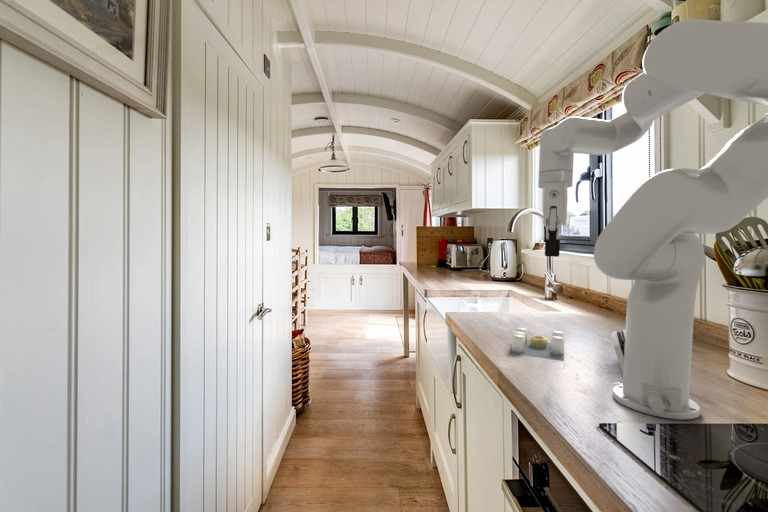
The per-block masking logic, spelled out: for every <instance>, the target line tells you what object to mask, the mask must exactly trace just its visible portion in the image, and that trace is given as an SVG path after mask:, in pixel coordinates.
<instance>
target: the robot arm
mask: <svg viewBox="0 0 768 512" xmlns="http://www.w3.org/2000/svg"><path fill="white" fill-rule="evenodd" d="M642 68H643V72H641V73H640V74H638V75H637V76H635V77H633V78H632V79H630V80H629V81H628V82H627V83H626V85H625V86H624V88H623V91H622V97H621V98H622V104H623V107H624V110H625V111H624V112H623V113H621V114H619V115H618V116H616V117H614V118H612V119H610V120H605V119H600V118H592V117H583V116H569V117H567V118H565V119H563V120H562V121H560V122H559V123H558V124H557V125H555V126H553V127H550V128H547V129H545V130H544V131H542V132H541V134H540V139H539V141H540V142H539V158H538V159H539V161H538V163H539V164H538V182H537V183H538V184H537V187H538V188H540V189H543V191H542V193H543V194H542V221H543V226H544V227H546V235H545V237H546V238H545V241H544V242H545V243H544V256H545V257H560V249H561V247H560V246H561V240H560V230H561V229H560V228H561V227H560V226H562V228H566V227H567V221H568V220H567V215H568V188H571V187H573V179H574V178H573V177H574V172H573V171H574V156H575V154H583V155H593V156H605V155H609V154H612V153H616V152H618V151H620V150H622V149H624V148H626V147H628V146H630V145H632V144H634V143H636V142H638V141H639V140H640V139H641V138H643V137H644V136H645V135H646V133H647V132H648V130H649V129H650V128H651V127H652V125H653V123H654V121H655V120H656V119H658V118H661V117H662V116H665V115H666V114H668V113H671V112H672V111H674V110H675V109H678V108H680V107H681V106H684V105H686V104H687V103H690V102H691V101H694V100H695V99H697V98H699V97H701V96H703V95H705V94H707V95H711V96H715V97H719V98H722V99H723V98H724V99H729V100H733V101H737V102H738V101H739V102H745V103H750V104H755V105H761V106H767V107H768V22H757V21H756V22H755V21H754V22H753V21H735V20H734V21H733V20H714V19H699V18H688V19H683V20H680V21H676V22H674V23H672V24H670V25H668V26H667V27H666V28H664V29H662V30H661V31H660V32H659V33H658V34H657V35H656V36H654V38H652V40H651V41H650V43H648V46H647V47H646V50H645V51H644V54H643V57H642ZM767 199H768V112H766V114H765V115H764V116H762V117H761V118H759V119H758V120H756V121H754V122H753V123H752V124H750V125H748V126H747V127H745V128H744V129H742V130H741V131H739V133H737V134H736V135H735V136H734V137H732V138H731V139H730V140H729V141H728V142H727V143H726V144H725V146H724V147H723V148H722V149H721V151H720V152H719V153H717V154H716V156H714V158H713V157H712V159H711V160H710V161H709V162H708V163H707V164H706V165H704V166H703V167H701V168H697V169H696V168H686V167H678V168H677V167H676V168H669V169H665V170H662V171H660V172H657V173H655V174H654V175H652V176H650V177H649V178H647V179H646V180H644V182H642V183H641V184H640V185H639V186H638V187H637V189H635V191H634V192H632V194H631V195H630V197H629V198H628V199H627V200H626V201H625V203H624V204H623V205H622V206H621V208H620V209H619V210H618V211H617V213H616V214H615V215H614V216H613V217H612V219H611V220H610V221H609V222H608V223H607V225H605V227H604V228H603V230H602V231H601V232H600V234H599V236H598V238H597V239H596V241H595V244H594V248H593V260H594V263H595V266H596V267H597V269H598V270H599V271H600V272H601V273H602V274H603V275H605V276H607V277H609V278H612V279H615V280H622V281H634V282H633V284H632V287H631V289H630V291H629V294H628V298H627V302H626V313H625V314H626V316H625V330H626V331H625V351H624V371H623V372H622V374H623V375H622V384H617V385H615V386H614V387H612V391H611V393H612V394H611V395H612V396H613V399H614V400H616V402H618V403H620V404H621V405H623V406H625V407H626V408H627V407H628V408H629V409H632V410H634V411H637V412H640V413H643V414H646V415H651V416H655V417H658V418H664V419H665V418H666V419H671V420H684V421H685V420H686V421H687V420H693V419H697V418H699V417H700V416H701V405H699V404H698V403H697V402H696V401H694V400H693V399H691V398H690V388H691V370H692V369H691V368H692V353H693V335H694V321H695V309H696V308H695V306H696V297H697V290H698V286H699V282H700V278H701V275H702V272H703V268H704V264H705V257H706V255H705V248H704V245H703V243H702V241H701V240H700V238H699V237H698V236H697V234H703V235H704V234H706V235H709V234H719V233H723V232H728V231H729V230H731V229H733V228H734V227H735V226H737V225H738V224H740V223H741V222H742V221H744V219H745V218H746V217H747V216H749V215H750V214H751V213H752V212H753V211H754V210H755V209H756V208H758V207H759V206H760V205H762V203H763V202H765V200H767Z"/></svg>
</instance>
